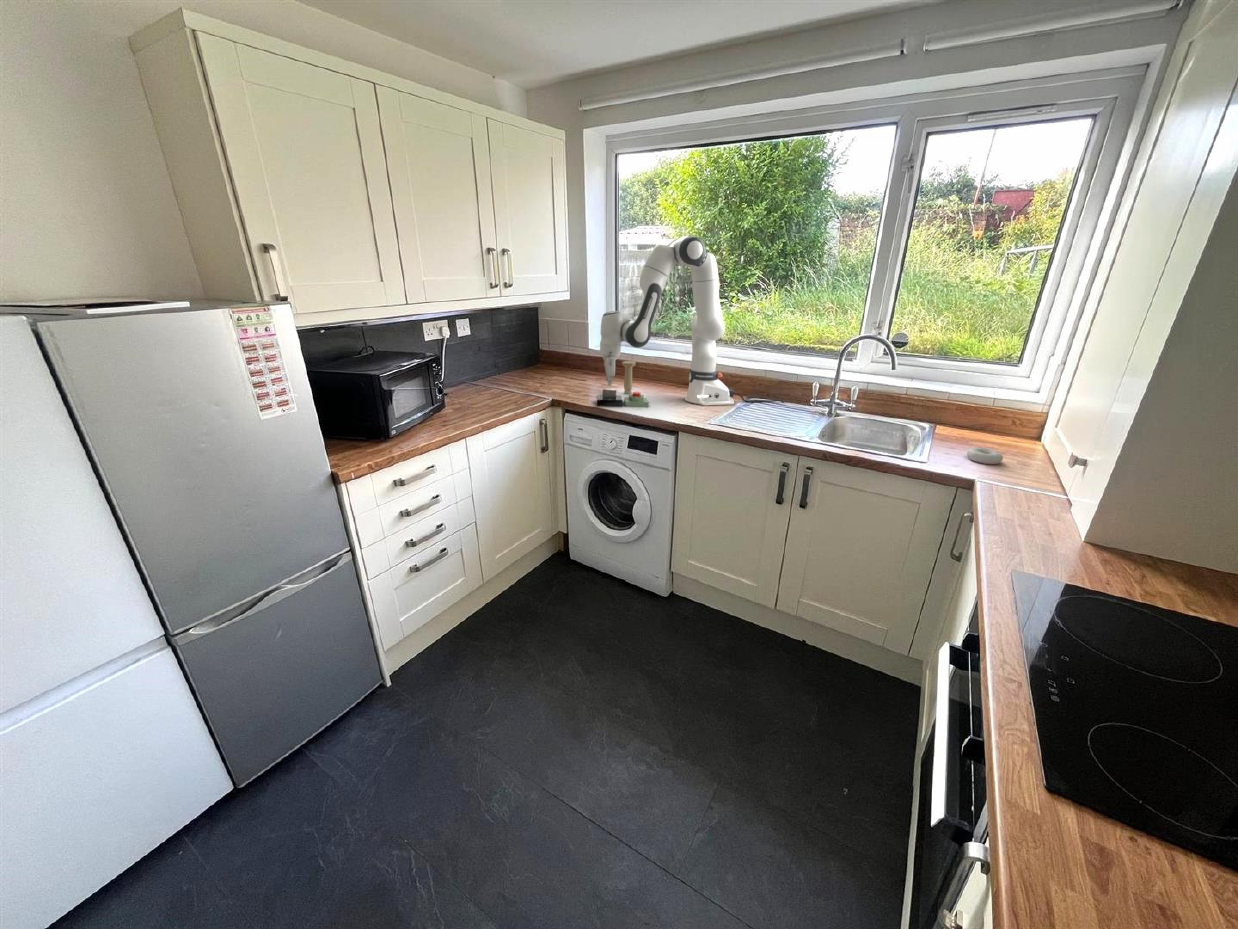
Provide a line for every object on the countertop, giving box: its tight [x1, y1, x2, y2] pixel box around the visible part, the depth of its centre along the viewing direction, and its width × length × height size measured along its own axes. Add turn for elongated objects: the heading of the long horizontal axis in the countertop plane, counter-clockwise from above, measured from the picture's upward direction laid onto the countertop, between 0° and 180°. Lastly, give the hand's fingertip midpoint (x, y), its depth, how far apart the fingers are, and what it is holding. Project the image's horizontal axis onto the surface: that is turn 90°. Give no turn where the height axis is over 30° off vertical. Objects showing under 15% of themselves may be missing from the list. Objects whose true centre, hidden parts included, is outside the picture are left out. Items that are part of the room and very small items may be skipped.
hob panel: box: [596, 394, 623, 408], centre depth 220 cm, size 11×10×3 cm
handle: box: [621, 360, 637, 395], centre depth 238 cm, size 5×6×15 cm
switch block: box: [623, 393, 649, 408], centre depth 221 cm, size 10×8×4 cm
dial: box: [602, 388, 617, 398], centre depth 219 cm, size 6×2×4 cm, turn 94°
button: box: [631, 391, 642, 397], centre depth 220 cm, size 4×4×2 cm
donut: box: [966, 447, 1004, 465], centre depth 167 cm, size 10×4×10 cm
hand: (609, 382), depth 217 cm, fingers open, 8 cm apart
